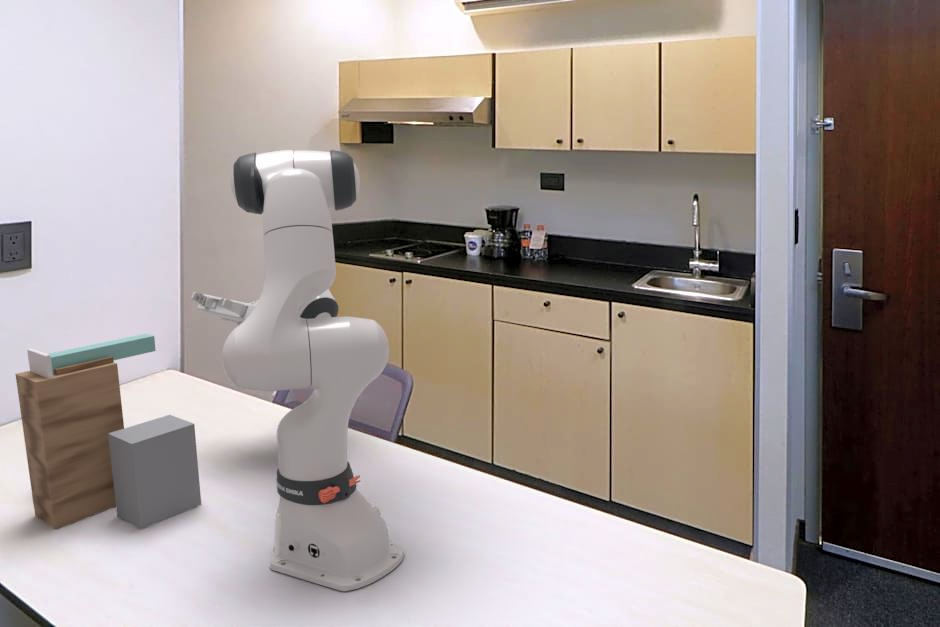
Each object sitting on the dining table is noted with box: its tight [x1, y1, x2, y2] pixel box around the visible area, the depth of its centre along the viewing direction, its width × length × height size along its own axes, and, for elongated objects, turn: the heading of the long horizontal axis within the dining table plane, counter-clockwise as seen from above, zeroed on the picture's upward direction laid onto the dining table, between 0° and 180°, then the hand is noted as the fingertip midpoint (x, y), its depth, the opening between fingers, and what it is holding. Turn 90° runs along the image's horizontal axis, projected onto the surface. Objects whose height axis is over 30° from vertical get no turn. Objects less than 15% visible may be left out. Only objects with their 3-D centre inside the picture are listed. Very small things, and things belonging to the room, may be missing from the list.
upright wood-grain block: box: [15, 357, 125, 530], centre depth 137 cm, size 8×14×28 cm, turn 143°
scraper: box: [27, 333, 157, 379], centre depth 138 cm, size 7×21×4 cm, turn 143°
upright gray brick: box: [108, 414, 202, 530], centre depth 137 cm, size 8×12×16 cm, turn 143°
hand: (207, 299), depth 150 cm, fingers open, 8 cm apart
